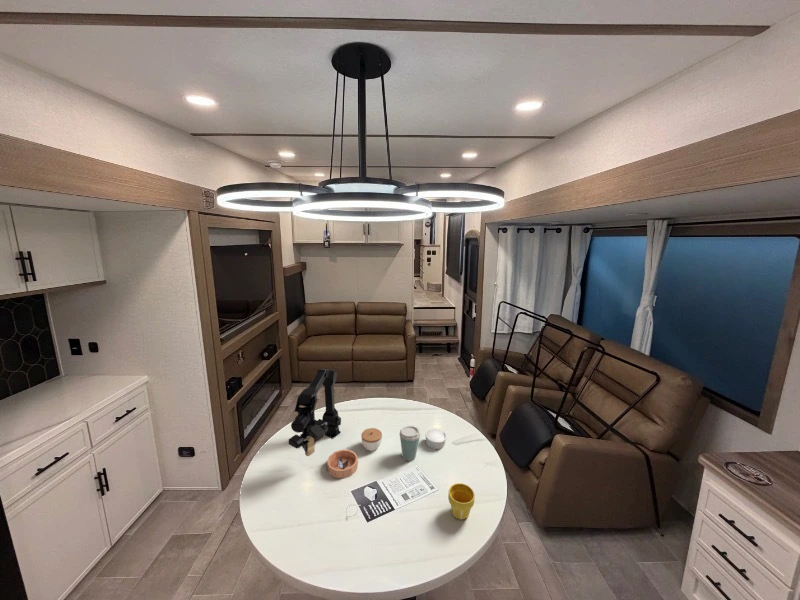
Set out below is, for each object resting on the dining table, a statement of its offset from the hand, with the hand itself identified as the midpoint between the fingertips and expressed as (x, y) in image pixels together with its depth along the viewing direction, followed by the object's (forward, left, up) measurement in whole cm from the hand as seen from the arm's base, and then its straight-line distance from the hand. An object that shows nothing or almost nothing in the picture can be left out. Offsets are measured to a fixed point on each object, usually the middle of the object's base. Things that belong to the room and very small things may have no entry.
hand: (309, 448), depth 147 cm
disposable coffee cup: (+34, +34, -12) cm, 50 cm away
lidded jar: (+14, +29, -12) cm, 35 cm away
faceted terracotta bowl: (+11, +10, -12) cm, 19 cm away
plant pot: (+68, +17, -12) cm, 71 cm away
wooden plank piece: (0, 0, -2) cm, 2 cm away
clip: (+11, +10, -12) cm, 19 cm away
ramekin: (+41, +50, -12) cm, 66 cm away
